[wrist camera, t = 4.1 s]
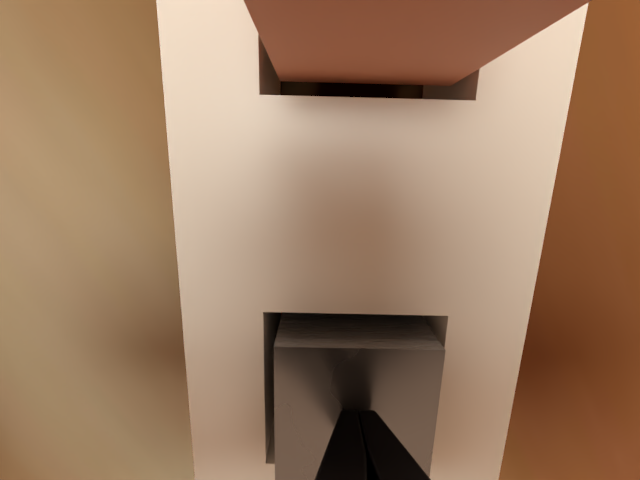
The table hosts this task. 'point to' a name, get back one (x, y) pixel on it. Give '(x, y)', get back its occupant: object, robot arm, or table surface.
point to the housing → (355, 224)
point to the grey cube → (352, 383)
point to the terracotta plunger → (396, 37)
